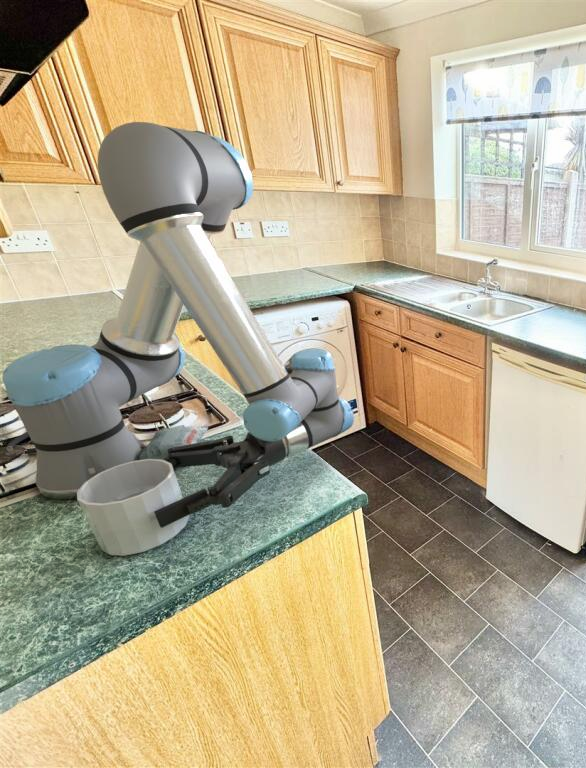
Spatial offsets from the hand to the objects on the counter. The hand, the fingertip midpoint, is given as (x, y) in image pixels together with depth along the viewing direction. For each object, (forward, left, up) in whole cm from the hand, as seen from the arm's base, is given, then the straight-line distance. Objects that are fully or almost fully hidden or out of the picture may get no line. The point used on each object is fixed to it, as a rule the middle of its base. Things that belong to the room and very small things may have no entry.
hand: (139, 500), depth 64 cm
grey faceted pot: (0, 0, -6) cm, 6 cm away
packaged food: (-10, +20, -6) cm, 23 cm away
